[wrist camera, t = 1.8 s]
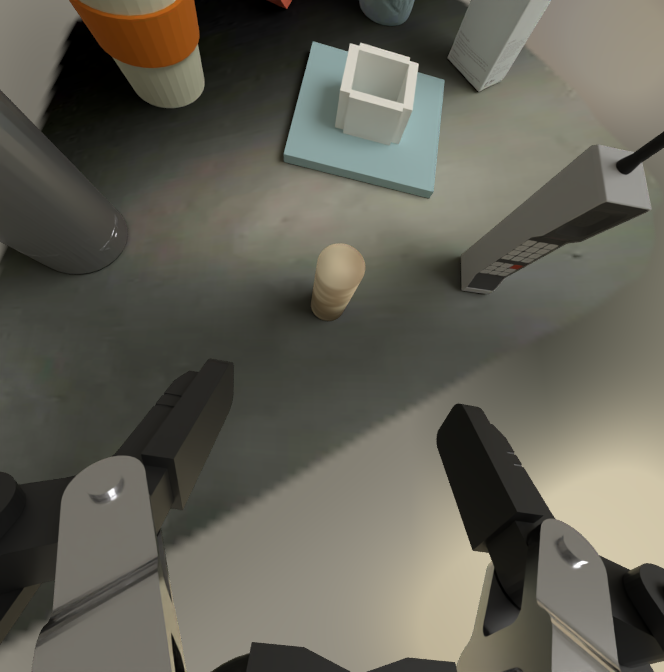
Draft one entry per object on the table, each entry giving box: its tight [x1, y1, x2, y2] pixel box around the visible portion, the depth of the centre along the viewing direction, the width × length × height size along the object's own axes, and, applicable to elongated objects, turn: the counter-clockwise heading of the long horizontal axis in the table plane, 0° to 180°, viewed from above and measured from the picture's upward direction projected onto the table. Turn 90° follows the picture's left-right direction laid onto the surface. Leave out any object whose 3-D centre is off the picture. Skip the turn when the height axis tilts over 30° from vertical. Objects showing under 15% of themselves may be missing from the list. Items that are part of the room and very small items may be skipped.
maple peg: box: [311, 243, 365, 321], centre depth 27 cm, size 4×4×10 cm
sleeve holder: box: [284, 42, 445, 198], centre depth 35 cm, size 20×20×6 cm
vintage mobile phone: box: [461, 132, 664, 294], centre depth 23 cm, size 4×5×25 cm
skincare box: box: [447, 0, 551, 91], centre depth 36 cm, size 8×6×15 cm
